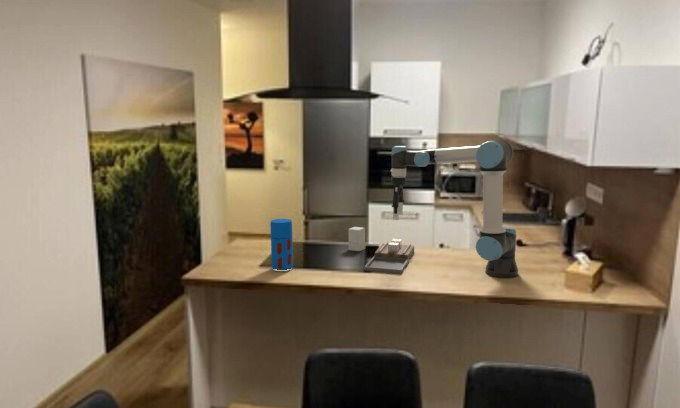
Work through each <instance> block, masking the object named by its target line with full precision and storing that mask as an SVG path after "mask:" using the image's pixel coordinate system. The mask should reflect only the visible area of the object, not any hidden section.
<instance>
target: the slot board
mask: <svg viewBox="0 0 680 408" xmlns="http://www.w3.org/2000/svg"><path fill="white" fill-rule="evenodd" d="M388 244H389V241H387V242H385V243H382V244H381V245H380V246H379V248H377V249H376V250H375V252H374V256H376V257H389V258H402V259H409V261H410V260H411V259H412V257H413V255H414V254H413V253H415V245H412V244H411V243H408V244H407V245H406V244H402V247H401V248H400V249H399V251H398V252H388Z"/></svg>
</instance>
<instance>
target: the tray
mask: <svg viewBox="0 0 680 408" xmlns="http://www.w3.org/2000/svg"><path fill="white" fill-rule="evenodd" d="M409 261H410V260H409V259H402V258H389V257H376V256H375V255H374V256H372V258H371V259H370V260H368V261H367V263H366V264H365V265H364V267H363V271H365V272H372V273H373V272H375V273H388V274H398V275H402V274H403V273H404V271H405V269H406V267H407V266H408V264H409Z"/></svg>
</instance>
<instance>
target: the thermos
mask: <svg viewBox="0 0 680 408" xmlns="http://www.w3.org/2000/svg"><path fill="white" fill-rule="evenodd" d="M269 226H270V246H271V247H270V251H271V252H270V253H271V269H272V268H273V269H277V270H287V269H291V268H293V269H294V251H293V250H294V248H293V247H294V246H293V223H292V219H290V218H274V219H272V220H270V225H269Z"/></svg>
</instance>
